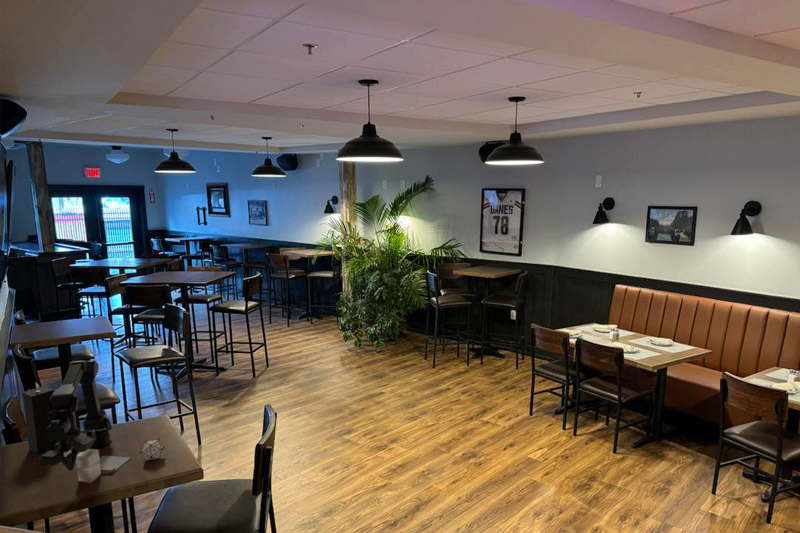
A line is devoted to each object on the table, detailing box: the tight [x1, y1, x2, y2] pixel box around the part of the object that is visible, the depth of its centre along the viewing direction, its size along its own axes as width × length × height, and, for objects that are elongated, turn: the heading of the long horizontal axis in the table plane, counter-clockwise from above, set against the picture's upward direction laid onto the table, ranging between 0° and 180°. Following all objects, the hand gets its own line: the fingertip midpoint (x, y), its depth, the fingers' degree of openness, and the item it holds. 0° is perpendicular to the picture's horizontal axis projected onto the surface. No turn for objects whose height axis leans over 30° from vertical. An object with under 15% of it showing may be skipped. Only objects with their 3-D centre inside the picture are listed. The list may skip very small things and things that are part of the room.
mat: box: [99, 455, 132, 472], centre depth 193 cm, size 12×9×1 cm
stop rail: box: [100, 466, 116, 475], centre depth 187 cm, size 12×2×2 cm, turn 83°
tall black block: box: [21, 382, 58, 456], centre depth 202 cm, size 8×8×28 cm
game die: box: [139, 437, 166, 463], centre depth 195 cm, size 9×8×10 cm
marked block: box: [75, 448, 102, 484], centre depth 182 cm, size 5×5×10 cm
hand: (70, 469), depth 174 cm, fingers closed
